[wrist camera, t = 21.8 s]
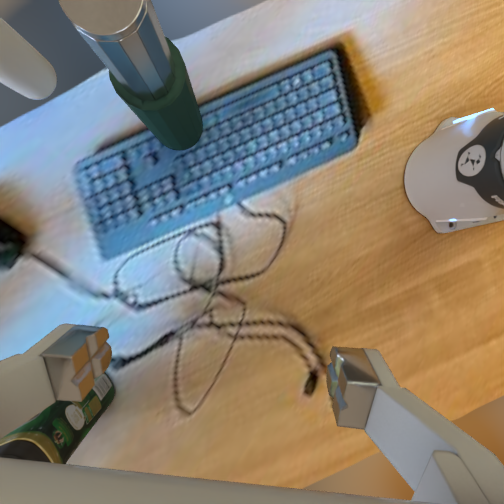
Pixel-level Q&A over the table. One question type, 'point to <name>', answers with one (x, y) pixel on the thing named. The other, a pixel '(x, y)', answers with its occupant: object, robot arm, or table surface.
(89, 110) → the table surface
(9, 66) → the mug
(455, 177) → the robot arm
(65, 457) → the coffee jar
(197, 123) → the bottle
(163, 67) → the cap
